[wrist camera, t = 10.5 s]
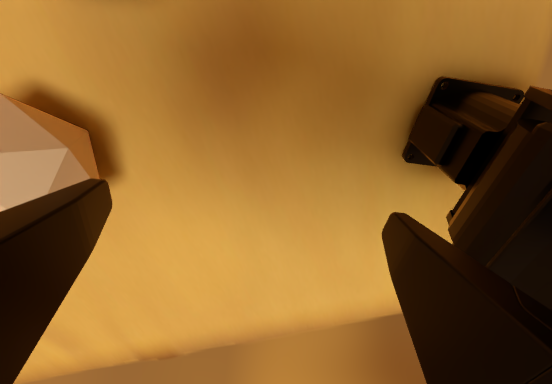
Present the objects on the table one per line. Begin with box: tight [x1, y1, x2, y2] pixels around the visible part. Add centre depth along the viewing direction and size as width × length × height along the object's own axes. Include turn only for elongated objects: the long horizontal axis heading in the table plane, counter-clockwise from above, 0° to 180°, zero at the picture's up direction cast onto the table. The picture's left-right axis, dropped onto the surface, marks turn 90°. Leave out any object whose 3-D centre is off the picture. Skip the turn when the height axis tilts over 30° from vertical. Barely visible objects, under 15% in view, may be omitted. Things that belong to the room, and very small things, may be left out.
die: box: [0, 93, 100, 212], centre depth 18 cm, size 8×9×10 cm
